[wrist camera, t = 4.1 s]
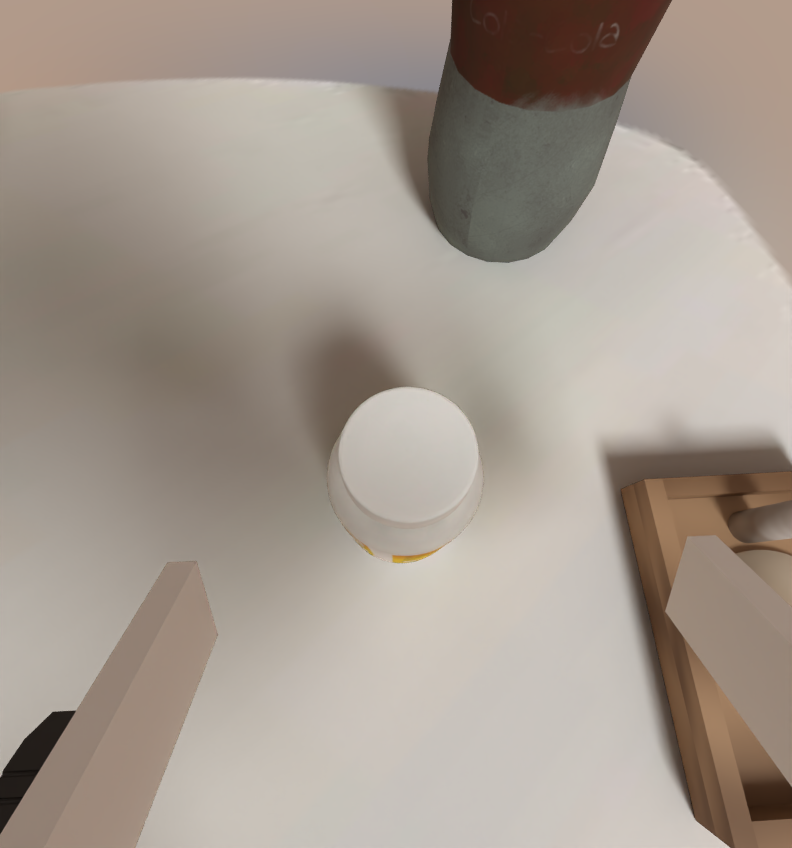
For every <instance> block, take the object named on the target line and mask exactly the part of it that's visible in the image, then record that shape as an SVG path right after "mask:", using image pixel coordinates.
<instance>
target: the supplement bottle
mask: <svg viewBox="0 0 792 848" xmlns="http://www.w3.org/2000/svg"><path fill="white" fill-rule="evenodd" d="M483 485H484V473H483V465H482V461H481V457H480V454H479V451H478V443H477V439H476V435H475V432H474V429H473V427H472V425H471V423H470V421H469V419H468V418H467V417H466V415H465V414H464V413H463V412H462V411H461V409H460V408H459V407H458V406H457V405H456V404H454V403H453V402H452V401H450V400H449V399H448V398H446V397H444V396H443V395H441V394H439V393H436V392H434V391H431V390H428V389H424V388H419V387H397V388H392V389H388V390H385V391H382V392H379V393H377V394H375V395H373V396H371V397H370V398H368V399H367V400H365V401H364V402H363V403H362V404H361V405H360V406H358V407H357V409H356V410H355V411H354V412H353V413H352V414H351V416H350V417H349V419H348V420H347V422H346V424H345V426H344V428H343V431H342V433H341V434H340V436H339V437H338V439H337V441H336V443H335V445H334V447H333V449H332V452H331V455H330V458H329V462H328V468H327V487H328V494H329V498H330V501H331V504H332V507H333V509H334V511H335V513H336V515H337V517H338V519H339V520H340V522H341V523H342V525H343V526H344V527H345V529H346V530H347V531H348V532H349V533H350V535H351V536H352V537H353V538H354V539H355V541H356V542H357V543H358V544H359V545H360V546H361V547H362V548H363V549H364V550H365V551H367V552H368V553H369V554H371V555H373V556H374V557H376V558H379V559H381V560H384V561H387V562H392V563H410V562H415V561H418V560H421V559H424V558H426V557H428V556H430V555H432V554H433V553H435V552H436V551H438V550H439V549H441V548H442V547H443V546H445V545H446V544H448V543H449V542H451V541H452V540H453V539H455V538H456V537H457V536H458V535H459V534H460V533H461V532H462V531H463V530H464V529H465V528H466V527H467V525H468V524H469V523H470V521H471V520H472V518H473V516H474V515H475V513H476V511H477V508H478V506H479V504H480V500H481V496H482V492H483Z"/></svg>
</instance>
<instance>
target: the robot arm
mask: <svg viewBox="0 0 792 848" xmlns="http://www.w3.org/2000/svg"><path fill="white" fill-rule="evenodd" d="M665 612H666V613H667V615H668V616H669V617H670V619H671V620H672V622H673V623H674V624H675V626H676V627H677V628H678V630H679V631H680V633H681V634H682V635H683V637H684V638H685V640H686V641H687V642H688V644H689V645H690V647H691V648H692V649H693V651H694V652H695V653H696V655H697V656H698V658H699V659H700V660H701V662H702V663H703V665H704V666H705V667H706V669H707V670H708V671H709V673H710V674H711V676H712V677H713V678H714V680H715V681H716V683H717V684H718V685H719V687H720V688H721V689H722V691H723V692H724V694H725V695H726V696H727V698H728V699H729V701H730V702H731V703H732V705H733V706H734V708H735V709H736V710H737V712H738V713H739V714H740V716H741V717H742V719H743V720H744V721H745V723H746V724H747V726H748V727H749V728H750V730H751V731H752V732H753V734H754V735H755V737H756V738H757V739H758V741H759V742H760V744H761V745H762V746H763V748H764V749H765V751H766V752H767V753H768V755H769V756H770V757H771V759H772V760H773V762H774V763H775V764H776V766H777V767H778V769H779V770H780V771H781V773H782V774H783V775H784V777H785V778H786V780H787V781H788V782H789V784H790V785H791V787H792V607H791V606H790V605H789V604H788V603H787V602H786V601H785V600H783V599H782V598H781V597H780V596H779V595H778V594H777V593H776V592H775V591H774V590H773V589H772V588H771V587H770V586H769V585H768V584H767V583H766V582H765V581H763V580H762V579H761V578H760V577H759V576H758V575H757V574H756V573H755V572H754V571H753V570H752V569H751V568H750V567H749V566H748V565H747V564H746V563H745V562H743V561H742V560H741V559H740V558H739V557H738V556H737V555H736V554H735V553H734V552H733V551H732V550H731V549H730V548H729V547H728V546H727V545H726V544H725V543H723V542H722V541H721V540H720V539H719V538H718V537H717V536H716V535H709V536H689V537H687V540H686V543H685V547H684V550H683V553H682V557H681V560H680V563H679V567H678V570H677V573H676V577H675V580H674V583H673V587H672V590H671V593H670V597H669V600H668V603H667V607H666V610H665ZM217 636H218V633H217V630H216V626H215V623H214V619H213V616H212V613H211V609H210V606H209V602H208V599H207V595H206V592H205V588H204V585H203V581H202V578H201V574H200V571H199V568H198V564H197V561H188V562H168V563H167V564H166V566H165V567H164V569H163V571H162V572H161V574H160V576H159V577H158V579H157V580H156V582H155V584H154V585H153V587H152V589H151V590H150V592H149V593H148V595H147V597H146V598H145V600H144V602H143V603H142V605H141V606H140V608H139V610H138V611H137V613H136V615H135V616H134V618H133V619H132V621H131V623H130V624H129V626H128V628H127V629H126V631H125V632H124V634H123V636H122V637H121V639H120V641H119V642H118V644H117V645H116V647H115V649H114V650H113V652H112V654H111V655H110V657H109V658H108V660H107V662H106V663H105V665H104V667H103V668H102V670H101V671H100V673H99V675H98V676H97V678H96V680H95V681H94V683H93V684H92V686H91V688H90V689H89V691H88V693H87V694H86V696H85V698H84V699H83V701H82V702H81V704H80V706H79V707H78V709H77V711H60V712H52V713H51V714H50V715H49V716H48V717H47V718H46V719H45V720H44V721H43V722H42V723H41V724H40V725H39V726H38V727H37V728H36V729H35V730H34V731H33V732H32V733H31V734H29V735H28V736H27V737H26V738H25V739H24V741H23V742H22V744H21V745H20V747H19V748H18V750H17V751H16V752H15V754H14V755H13V757H12V758H11V760H10V761H9V763H8V764H7V766H6V767H5V769H4V770H3V774H2V776H1V778H0V848H135V847H136V844H137V842H138V839H139V837H140V834H141V831H142V829H143V826H144V824H145V821H146V818H147V816H148V813H149V811H150V808H151V806H152V803H153V800H154V798H155V795H156V793H157V790H158V788H159V785H160V782H161V780H162V777H163V775H164V772H165V770H166V767H167V764H168V762H169V759H170V757H171V754H172V752H173V749H174V746H175V744H176V741H177V739H178V736H179V734H180V731H181V728H182V726H183V723H184V721H185V718H186V716H187V713H188V710H189V708H190V705H191V703H192V700H193V697H194V695H195V692H196V690H197V687H198V685H199V682H200V679H201V677H202V674H203V672H204V669H205V667H206V664H207V661H208V659H209V656H210V654H211V651H212V649H213V646H214V643H215V641H216V638H217Z"/></svg>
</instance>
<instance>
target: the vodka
mask: <svg viewBox="0 0 792 848" xmlns="http://www.w3.org/2000/svg"><path fill="white" fill-rule="evenodd" d="M671 1H672V0H452V22H451V39H450V43H449V48H448V52H447V57H446V61H445V65H444V70H443V74H442V78H441V83H440V87H439V92H438V97H437V102H436V107H435V112H434V117H433V122H432V127H431V133H430V138H429V148H428V175H429V194H430V200H431V204H432V208H433V212H434V215H435V218H436V221H437V224H438V227H439V230H440V232H441V233H442V234H443V235H444V237H445V238H446V239H447V240H448V242H449V243H450V244H451V245H452V246H454V247H456V248H457V249H459V250H460V251H462V252H463V253H465V254H466V255H468V256H471V257H475V258H478V259H481V260H484V261H488V262H507V263H508V262H513V261H518V260H522V259H527V258H529V257H531V256H533V255H535V254H537V253H539V252H541V251H542V250H544V249H545V248H546V247H547V246H548V245H549V244H550V243H551V242H552V241H553V240H554V239H555V238H556V237H557V236H558V234H559V233H560V232H561V231H562V230H563V229H564V228H565V227H566V226H567V225H568V224H569V222H570V221H571V220H572V219H573V217H574V216H575V214H576V212H577V211H578V209H579V208H580V206H581V205H582V203H583V202H584V200H585V199H586V197H587V196H588V194H589V193H590V191H591V190H592V188H593V186H594V184H595V182H596V179H597V176H598V173H599V170H600V168H601V165H602V162H603V159H604V156H605V153H606V151H607V148H608V145H609V142H610V139H611V136H612V134H613V131H614V128H615V125H616V122H617V119H618V116H619V113H620V110H621V107H622V104H623V101H624V97H625V94H626V91H627V88H628V85H629V82H630V79H631V76H632V74H633V72H634V70H635V68H636V66H637V64H638V62H639V61H640V59H641V57H642V55H643V53H644V51H645V49H646V48H647V46H648V44H649V42H650V40H651V38H652V36H653V34H654V33H655V31H656V29H657V27H658V25H659V23H660V21H661V19H662V18H663V16H664V14H665V12H666V10H667V8H668V7H669V5H670V3H671Z"/></svg>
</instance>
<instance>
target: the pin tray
mask: <svg viewBox="0 0 792 848" xmlns="http://www.w3.org/2000/svg"><path fill="white" fill-rule="evenodd" d="M621 493H622V497H623V502H624V506H625V510H626V515H627V519H628V524H629V528H630V532H631V537H632V541H633V546H634V550H635V555H636V559H637V563H638V568H639V572H640V577H641V581H642V585H643V590H644V594H645V599H646V603H647V608H648V612H649V616H650V621H651V625H652V630H653V634H654V638H655V643H656V647H657V652H658V656H659V660H660V665H661V669H662V674H663V678H664V683H665V687H666V691H667V696H668V700H669V705H670V709H671V713H672V718H673V722H674V727H675V731H676V736H677V740H678V744H679V749H680V753H681V758H682V762H683V766H684V771H685V775H686V780H687V784H688V789H689V793H690V797H691V802H692V806H693V811H694V815H695V819H696V821H697V822H699V823H700V824H701V825H702V826H704V827H705V828H706V829H707V830H709V831H710V832H711V833H713V834H714V835H715V836H716V837H718V838H719V839H720V840H721V841H723V842H724V843H725V844H727V845H728V846H729V847H730V848H792V787H791V785H790V784H789V782H788V781H787V780H786V778H785V777H784V775H783V774H782V773H781V771H780V770H779V769H778V767H777V766H776V764H775V763H774V762H773V760H772V759H771V757H770V756H769V755H768V753H767V752H766V751H765V749H764V748H763V746H762V745H761V744H760V742H759V741H758V739H757V738H756V737H755V735H754V734H753V732H752V731H751V730H750V728H749V727H748V726H747V724H746V723H745V721H744V720H743V719H742V717H741V716H740V714H739V713H738V712H737V710H736V709H735V708H734V706H733V705H732V703H731V702H730V701H729V699H728V698H727V696H726V695H725V694H724V692H723V691H722V689H721V688H720V687H719V685H718V684H717V683H716V681H715V680H714V678H713V677H712V676H711V674H710V673H709V671H708V670H707V669H706V667H705V666H704V665H703V663H702V662H701V660H700V659H699V658H698V656H697V655H696V653H695V652H694V651H693V649H692V648H691V647H690V645H689V644H688V642H687V641H686V640H685V638H684V637H683V635H682V634H681V633H680V631H679V630H678V628H677V627H676V626H675V624H674V623H673V622H672V620H671V619H670V617H669V616H668V615H667V613H666V612H665V610H666V607H667V603H668V600H669V597H670V593H671V590H672V587H673V583H674V580H675V577H676V573H677V570H678V567H679V563H680V560H681V557H682V553H683V550H684V547H685V543H686V540H687V537H689V536H709V535H716V536H717V537H718V538H719V539H720V540H721V541H722V542H723V543H725V544H726V545H727V546H728V547H729V548H730V549H731V550H732V551H733V552H734V553H735V554H736V555H737V556H738V557H739V558H740V559H741V560H742V561H743V562H745V563H746V564H747V565H748V566H749V567H750V568H751V569H752V570H753V571H754V572H755V573H756V574H757V575H758V576H759V577H760V578H761V579H762V580H763V581H765V582H766V583H767V584H768V585H769V586H770V587H771V588H772V589H773V590H774V591H775V592H776V593H777V594H778V595H779V596H780V597H781V598H782V599H783V600H785V601H786V602H787V603H788V604H789V605H790V606H791V607H792V471H788V472H770V473H751V474H733V475H714V476H696V477H678V478H659V479H644V480H641V481H639V482H637V483H634V484H632V485H630V486H627V487H625V488H623V489H621Z"/></svg>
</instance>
